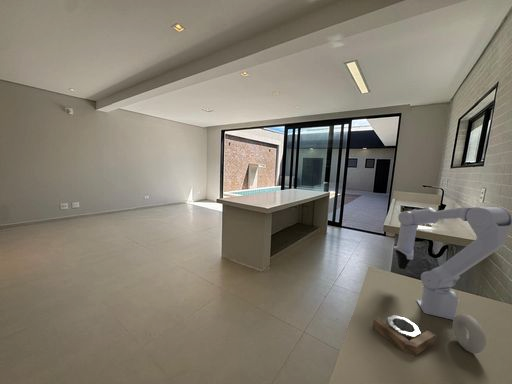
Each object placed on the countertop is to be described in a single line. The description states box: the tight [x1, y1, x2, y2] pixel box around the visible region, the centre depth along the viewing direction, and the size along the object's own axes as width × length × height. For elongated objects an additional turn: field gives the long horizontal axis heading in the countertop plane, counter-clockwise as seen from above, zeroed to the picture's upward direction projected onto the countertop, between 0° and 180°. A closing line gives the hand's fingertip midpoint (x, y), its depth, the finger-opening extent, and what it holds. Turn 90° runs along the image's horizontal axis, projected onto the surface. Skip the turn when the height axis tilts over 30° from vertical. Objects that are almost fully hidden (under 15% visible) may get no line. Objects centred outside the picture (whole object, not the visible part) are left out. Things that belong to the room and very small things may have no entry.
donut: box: [452, 313, 487, 354], centre depth 64 cm, size 10×4×10 cm, turn 168°
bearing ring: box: [386, 314, 422, 340], centre depth 68 cm, size 8×8×4 cm
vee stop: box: [372, 317, 436, 357], centre depth 65 cm, size 17×9×3 cm, turn 70°
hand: (401, 268), depth 93 cm, fingers closed
